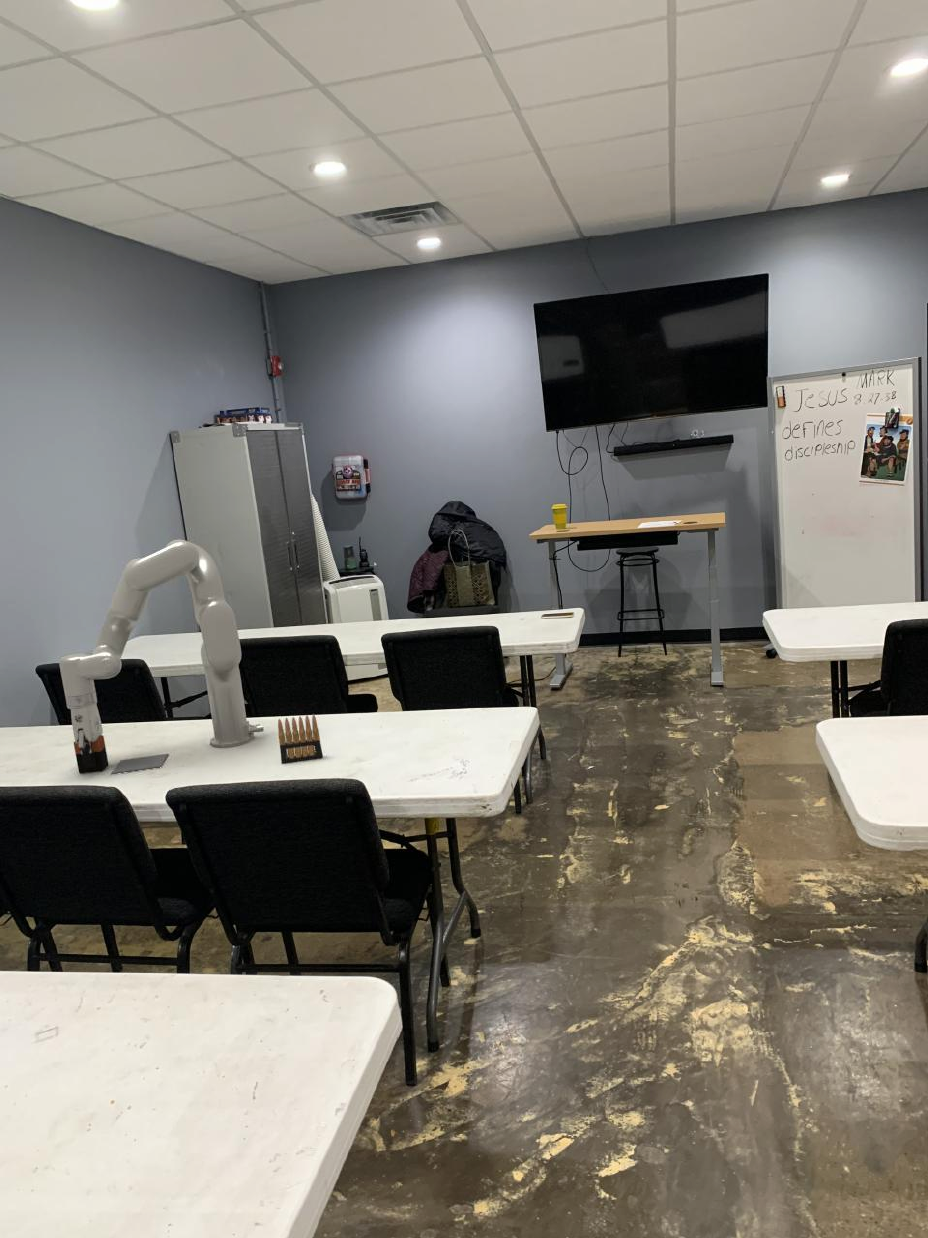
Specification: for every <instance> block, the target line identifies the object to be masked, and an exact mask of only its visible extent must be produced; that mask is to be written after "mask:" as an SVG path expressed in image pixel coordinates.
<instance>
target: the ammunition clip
mask: <svg viewBox="0 0 928 1238" xmlns="http://www.w3.org/2000/svg"><path fill="white" fill-rule="evenodd" d="M277 721H278V722H277V728H278V729H277V730H278V743H279V750H280V761H281V765H285V764H287V765H288V764H293V763H300V762H301V763H302V762H309V761H314V760H323V758H324V756H323V751H322V744H321V738H320V731H319V730H320V729H319V728H318V721H317V718H316V716H315V714H314V713H313V714H312V717H311V722H310V718H309V716H308V715H307V714H306V715H305V720H304V721H305V722H303V718H302V716H300V715H299V717H298V725H297V721H296V718H295V717H294V716H293V717H292V718H291V724H290V721H289V719H288V718H287V717H285V719H284V726H283V722H282V720H281V719H280V718H278V720H277ZM304 723H305V726H304ZM311 724H312V725H311ZM290 725H291V726H290ZM311 726H312V727H311ZM284 727H285V728H284ZM284 729H285V731H284ZM291 730H292V731H291Z"/></svg>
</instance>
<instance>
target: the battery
mask: <svg viewBox="0 0 928 1238" xmlns="http://www.w3.org/2000/svg"><path fill="white" fill-rule="evenodd" d="M85 742H89V741H88V740H85ZM78 745H79V744H77V743H76V742H75V741H73V749H74V753H75V757H76V764H77V769H78V773H79V774H89V773H99V772H100V773H101V772H104V771H105V770H106V769H108V767H109V766H110V765H109V760H108V753H107V747H106V742H105V736H104V735H103V734H101V735H100V736H99V737H98V739H97V740H96V741H95V742H92V749H93V752H94V754H95V759H96V767H92V768H84V766H83V761H82V755H81V750H80V748H79V746H78ZM86 746H88V747H89V744H86Z"/></svg>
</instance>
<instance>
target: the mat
mask: <svg viewBox="0 0 928 1238" xmlns="http://www.w3.org/2000/svg"><path fill="white" fill-rule="evenodd" d="M169 754H170V753H169V752H168V753H162V754H156V755H149V756H142V757H141V756H139V757H133V758H126V759H120V760H119V762H118V763H117V764H116V765H115V766H114V768H113V769H112V770H111V772H110V775H111V776H112V775H113V774H114V775H119V774H118V773H121V774H125V773H124V772H128V773H133V772H132V771H135V772H140V771H139V770H142V771H147V770H146V769H150V770H154V769H153V768H157V769H161V768H163V766H164V764H165V762H166V761H167V759H168V757H169ZM160 767H161V768H160Z"/></svg>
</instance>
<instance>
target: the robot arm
mask: <svg viewBox="0 0 928 1238" xmlns="http://www.w3.org/2000/svg"><path fill="white" fill-rule="evenodd" d="M184 575H185V576H186V578H187V580H188V584H189V588H190V592H191V596H192V603H193V608H194V616H195V621H196V622H197V624H198V625H199V629H200V633H201V637H202V644H201V647H200V656H201V657H200V658H201V662H202V667H203V672H204V676H205V682H206V689H207V695H208V702H209V709H210V715H211V720H212V721H211V722H212V729H213V734H214V735H213V737H212V738H210V740H209V745H210V746H211V747H214V748H230V747H231V748H232V747H235V746H241V745H244V744H247V743H249V742H251V741H253V740H254V739H255V733H264V731H265V730H264V728H265V727H264V725H263V724H260V723H258V724H250V721H249V720H247V714H246V706H245V701H244V700H245V699H244V694H243V687H242V686H243V685H242V679H241V673H240V668H239V665H240V662H241V660H242V648H241V642H240V637H239V633H238V626H237V621H236V617H235V614H234V611H233V609H232V607H231V605H229V604H228V603H227V601H226V598H225V594H224V588H223V585H222V581H221V576H220V573H219V570H218V567H217V565H216V563H215V561H214V559H213V558H212V556H211V555H210V553H208V552H206V550H205V549H203V548H202V547H201V546H199V545H197V544H195V543H193V542H190V541H187V540H185V539H174V540H173V539H172V540H171V541H170V542H168V543H167V544H166V546H165V547H164V548H162V549H160V550H158V551H155V552H154V553H152V554H149V555H148V556H144V557H143V558H141V557H140V558H135V559H132V560H130V561H129V562H127V564H126V566H125V567H124V569H123V572H122V575H121V578H120V580H119V582H118V584H117V587H116V591H115V592H114V595H113V597H112V600H111V603H110V605H109V608H108V610H107V613H106V616H105V620H104V622H103V625H102V628H101V630H100V634H98V637H97V641H96V642H95V645H94V647H93V650H92V654H86V653H73V654H69V655H68V654H67V655H65V656H63V657H61V658H59V659H60V660H59V669H60V676H61V680H62V686H63V691H64V696H65V701H66V703H65V704H66V707H67V709H69V710H70V715H71V717H70V718H71V725H72V732H73V737H74V742H76V743H77V744H79V745H78V746H79V748H80V750H81V755H82V761H83V766H84V768H92V767H96V759H95V754H94V752H93V749H92V742H95V741H96V740H97V739H98V737H99V736H100V735H103V732H104V731H103V726H102V721H101V716H100V712H99V709H98V706H97V703H98V699H97V692H96V687H95V682H94V680H106V679H111V678H114V677H116V676H117V675H118V674H119V673H120V672H121V669H122V665H123V664H122V660H121V659H122V656H123V653H124V650H125V648H126V645H127V642H128V641H129V638H130V636H131V634H132V632H133V630H135V628H136V627H137V626H138V625H139V623H140V622H141V619H142V617H143V615H144V612H145V609H146V607H147V604H148V601H149V599H150V597H151V594H152V591H153V589H156V588H158V587H161V586H162V585H165V584H167V583H169V582H171V581H173V580H175V579H178V578H179V577H181V576H184ZM85 740H88V741H89V742H85ZM86 744H89V747H88V746H86Z"/></svg>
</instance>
